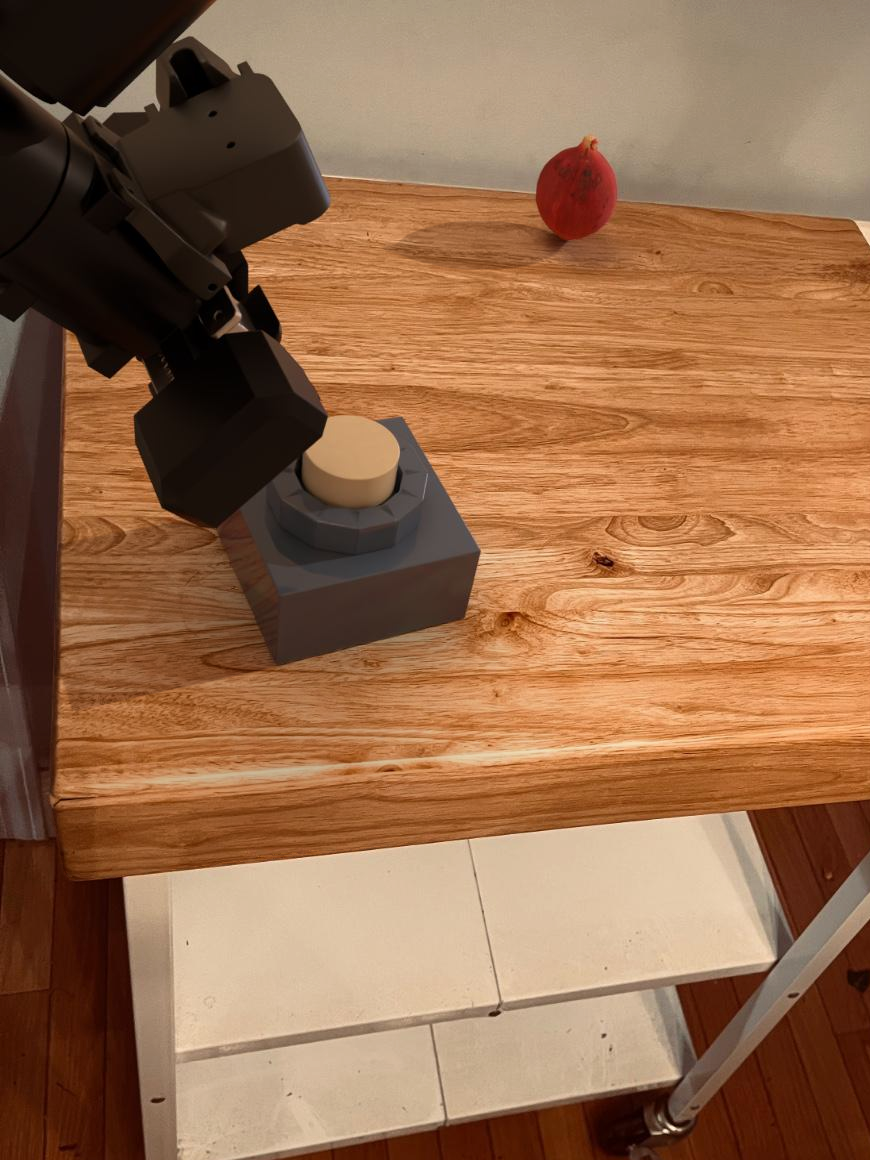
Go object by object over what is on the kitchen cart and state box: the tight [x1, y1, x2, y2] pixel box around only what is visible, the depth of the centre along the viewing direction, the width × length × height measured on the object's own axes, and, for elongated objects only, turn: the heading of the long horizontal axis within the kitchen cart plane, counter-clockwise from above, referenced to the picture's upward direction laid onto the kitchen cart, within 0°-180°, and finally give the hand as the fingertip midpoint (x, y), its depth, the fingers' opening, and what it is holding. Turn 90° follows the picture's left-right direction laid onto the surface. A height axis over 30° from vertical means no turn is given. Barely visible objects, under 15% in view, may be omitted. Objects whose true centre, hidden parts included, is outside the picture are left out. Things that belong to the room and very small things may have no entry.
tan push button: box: [301, 414, 400, 510], centre depth 56 cm, size 4×4×2 cm
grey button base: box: [215, 416, 482, 666], centre depth 59 cm, size 10×10×7 cm
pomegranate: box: [534, 134, 618, 242], centre depth 84 cm, size 6×6×8 cm
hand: (310, 402), depth 52 cm, fingers closed
